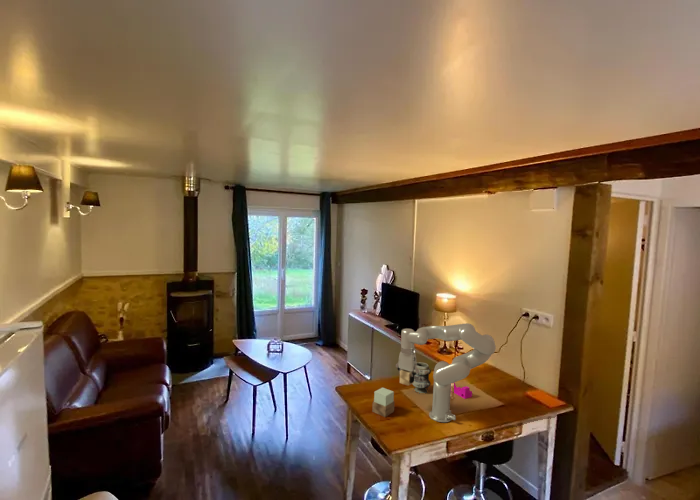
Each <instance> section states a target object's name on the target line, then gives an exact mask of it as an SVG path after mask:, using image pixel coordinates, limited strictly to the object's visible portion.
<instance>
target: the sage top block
mask: <svg viewBox="0 0 700 500" xmlns="http://www.w3.org/2000/svg"><path fill="white" fill-rule="evenodd" d="M373 393H374V396H373V397H374V398H373V401H374V402H376V403H378V404H381V405H383V406H387V405H389V404H391V403H392V402H393V401H395V400H394V395H395V391H393V390H390V389H387V388H385V387H380V388H378V389H377V390H375V391H374V392H373Z"/></svg>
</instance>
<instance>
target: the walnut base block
mask: <svg viewBox="0 0 700 500" xmlns="http://www.w3.org/2000/svg"><path fill="white" fill-rule="evenodd" d="M371 412H372V413H375V414H377V415H380V416H381V417H383V418H386V417H388V416H390V415H391V414H393V413H394V412H395V400H393V402H392V403H391V404H389V405H387V406H383V405H381V404H378V403H376V402H374V400H373V401H372V410H371Z"/></svg>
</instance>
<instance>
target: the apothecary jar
mask: <svg viewBox="0 0 700 500" xmlns="http://www.w3.org/2000/svg"><path fill="white" fill-rule="evenodd" d="M417 368H418V370H419V372H418V373H417V374H416V375H415V376H414V383H412V384H411V385H413V387H415V388H413V391H414V390H415V391H416V392H419V393H418V394H420V393H425V394H427V393H428V392H427V390H428V388H430V386H431V384H432V383H431V381H430V378H429V377H430V374H431V372H432V370H431V368H430V367H429V364H428V363H426V362H417ZM414 372H416V370H414ZM415 391H414V392H415ZM416 392H415V393H416Z"/></svg>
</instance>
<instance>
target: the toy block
mask: <svg viewBox="0 0 700 500" xmlns="http://www.w3.org/2000/svg"><path fill="white" fill-rule="evenodd" d="M454 394H455V395H457V396H458V397H461V398H462V399H464V400H467V399H469V398H472V396H473V391H472V390H471V388H470V387H469V386H467V385H465V386H462V387H460V386H457V385H456V382H454Z"/></svg>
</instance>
